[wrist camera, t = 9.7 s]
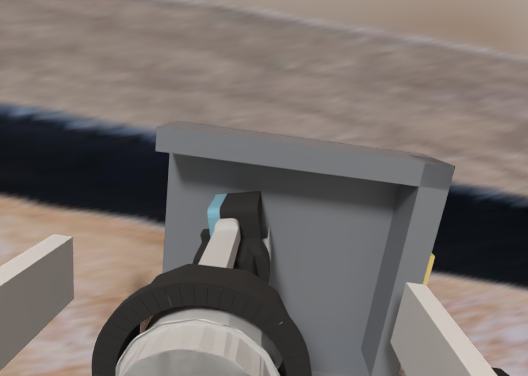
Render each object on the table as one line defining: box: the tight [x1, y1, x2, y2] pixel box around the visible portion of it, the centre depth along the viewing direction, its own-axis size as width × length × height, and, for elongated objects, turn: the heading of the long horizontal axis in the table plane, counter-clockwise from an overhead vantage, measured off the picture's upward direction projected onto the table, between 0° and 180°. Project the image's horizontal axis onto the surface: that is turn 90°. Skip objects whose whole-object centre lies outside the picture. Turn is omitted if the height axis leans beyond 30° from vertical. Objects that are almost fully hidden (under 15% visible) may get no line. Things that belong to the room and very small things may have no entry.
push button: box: [92, 191, 312, 376], centre depth 12 cm, size 7×5×10 cm
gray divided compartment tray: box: [156, 121, 455, 376], centre depth 18 cm, size 12×22×3 cm, turn 172°
